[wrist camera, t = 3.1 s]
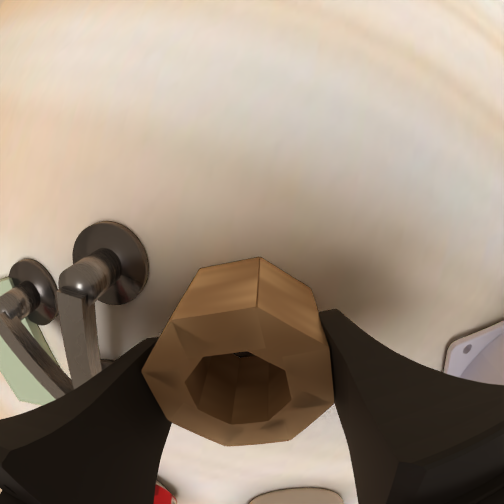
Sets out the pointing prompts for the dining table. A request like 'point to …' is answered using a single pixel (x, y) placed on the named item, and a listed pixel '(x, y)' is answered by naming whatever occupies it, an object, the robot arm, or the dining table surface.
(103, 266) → the grey jointed bar frame
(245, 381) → the ring
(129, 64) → the dining table surface
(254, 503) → the cup
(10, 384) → the pad
